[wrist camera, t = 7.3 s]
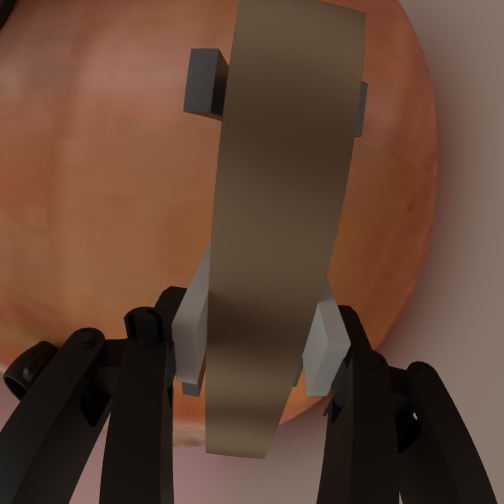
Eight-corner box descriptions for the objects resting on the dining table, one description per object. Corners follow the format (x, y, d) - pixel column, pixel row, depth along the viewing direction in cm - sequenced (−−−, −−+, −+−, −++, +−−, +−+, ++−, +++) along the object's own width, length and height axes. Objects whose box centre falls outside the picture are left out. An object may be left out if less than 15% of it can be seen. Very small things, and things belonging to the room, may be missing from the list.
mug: (84, 350, 31) (53, 400, 22) (67, 379, 35) (43, 420, 26) (40, 311, 29) (2, 354, 20) (30, 348, 33) (2, 385, 24)
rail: (249, 37, 10) (241, -9, 6) (332, 50, 10) (365, 13, 6) (214, 400, 20) (206, 452, 15) (265, 405, 20) (264, 458, 15)
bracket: (223, 84, 19) (191, 48, 9) (332, 98, 19) (382, 76, 9) (219, 120, 20) (183, 111, 11) (327, 134, 20) (375, 138, 11)
